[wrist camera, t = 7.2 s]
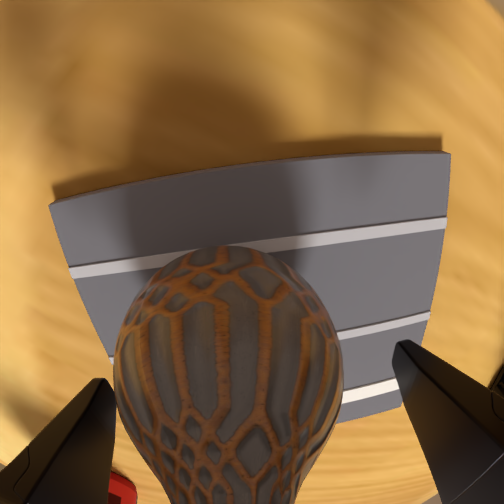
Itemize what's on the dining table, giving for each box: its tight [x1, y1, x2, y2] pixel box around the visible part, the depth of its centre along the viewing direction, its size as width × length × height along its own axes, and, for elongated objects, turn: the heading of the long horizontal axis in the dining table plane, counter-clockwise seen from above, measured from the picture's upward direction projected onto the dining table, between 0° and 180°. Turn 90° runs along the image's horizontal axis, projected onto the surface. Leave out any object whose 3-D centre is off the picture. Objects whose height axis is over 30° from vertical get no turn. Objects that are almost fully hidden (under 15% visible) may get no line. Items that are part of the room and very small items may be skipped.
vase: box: [113, 245, 344, 504], centre depth 9 cm, size 7×7×9 cm
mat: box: [48, 151, 451, 424], centre depth 14 cm, size 16×16×1 cm
